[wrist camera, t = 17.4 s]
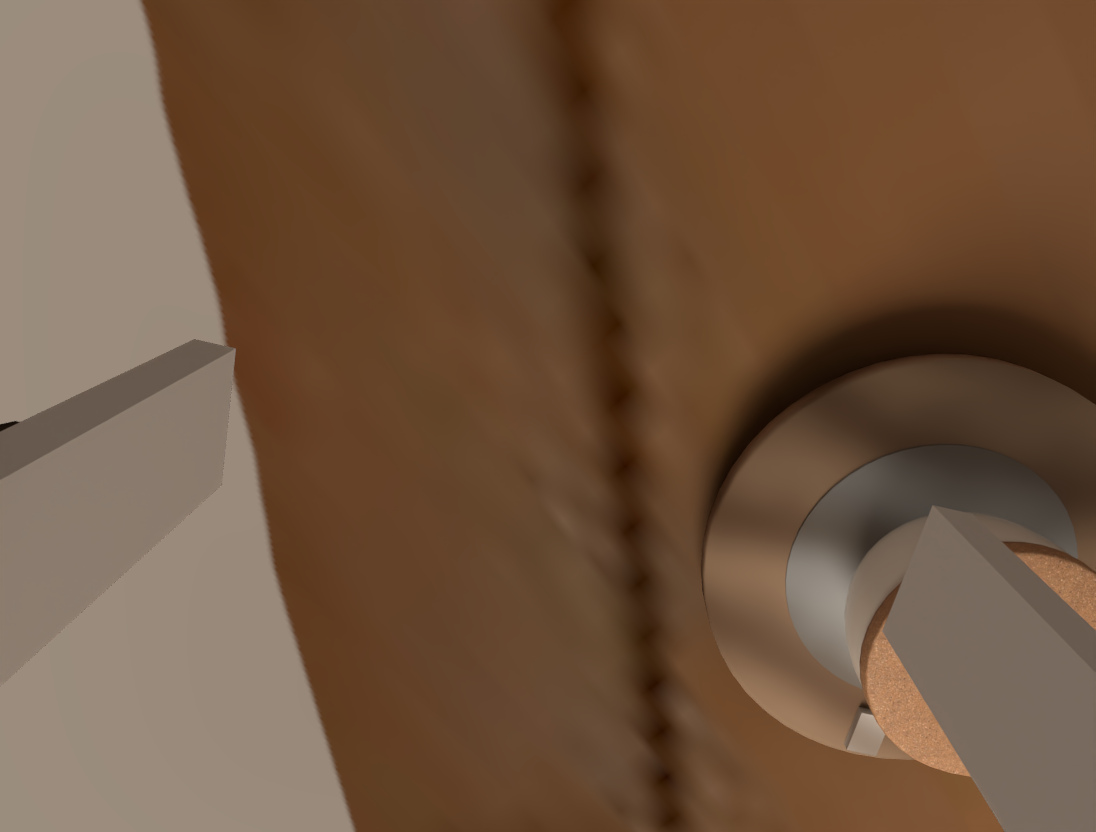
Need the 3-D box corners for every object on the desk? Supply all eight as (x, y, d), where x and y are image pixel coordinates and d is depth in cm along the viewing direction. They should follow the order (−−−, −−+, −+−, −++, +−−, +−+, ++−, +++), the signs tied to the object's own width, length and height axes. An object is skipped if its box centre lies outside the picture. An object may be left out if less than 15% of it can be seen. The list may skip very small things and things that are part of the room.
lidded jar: (1073, 613, 41) (1207, 742, 32) (872, 702, 43) (945, 845, 34) (989, 437, 39) (1109, 523, 30) (779, 541, 41) (833, 650, 32)
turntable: (773, 307, 39) (782, 315, 37) (1221, 410, 39) (1253, 423, 38) (654, 693, 46) (657, 716, 44) (1037, 776, 46) (1057, 803, 44)
